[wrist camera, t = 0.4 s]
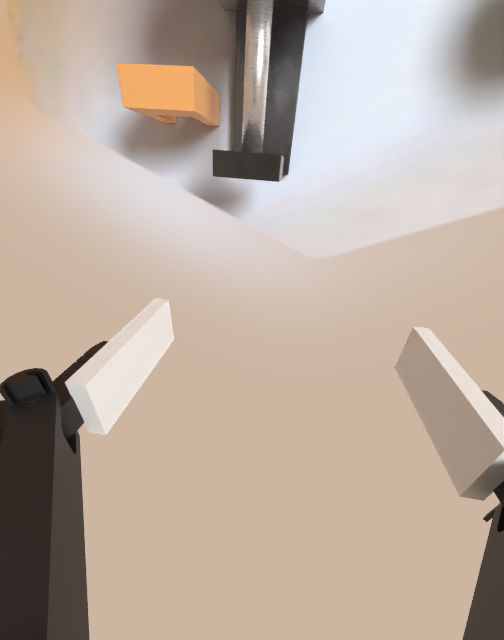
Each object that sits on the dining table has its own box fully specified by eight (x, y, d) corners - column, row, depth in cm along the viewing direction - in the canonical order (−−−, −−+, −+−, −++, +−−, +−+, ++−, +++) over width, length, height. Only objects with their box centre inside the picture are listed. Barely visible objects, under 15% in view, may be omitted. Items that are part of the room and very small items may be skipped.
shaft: (231, -39, 20) (209, -111, 15) (306, -39, 20) (310, -113, 15) (227, 175, 28) (213, 176, 23) (281, 179, 27) (278, 181, 22)
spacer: (162, 90, 30) (116, 63, 22) (219, 93, 29) (193, 66, 22) (165, 122, 31) (123, 107, 24) (219, 126, 31) (194, 111, 23)
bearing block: (225, -89, 23) (153, -357, 11) (337, -91, 22) (386, -384, 10) (223, 169, 33) (185, 167, 21) (299, 175, 32) (302, 177, 21)
